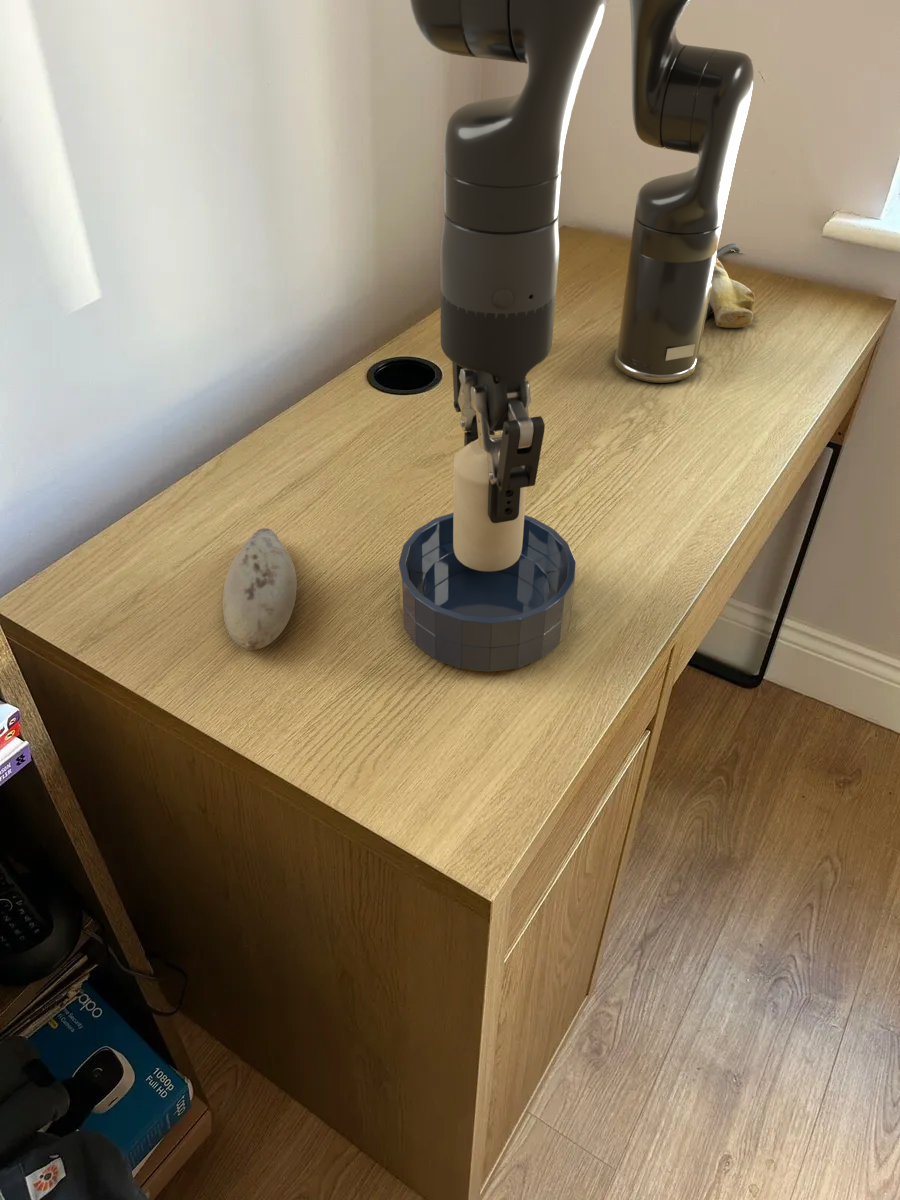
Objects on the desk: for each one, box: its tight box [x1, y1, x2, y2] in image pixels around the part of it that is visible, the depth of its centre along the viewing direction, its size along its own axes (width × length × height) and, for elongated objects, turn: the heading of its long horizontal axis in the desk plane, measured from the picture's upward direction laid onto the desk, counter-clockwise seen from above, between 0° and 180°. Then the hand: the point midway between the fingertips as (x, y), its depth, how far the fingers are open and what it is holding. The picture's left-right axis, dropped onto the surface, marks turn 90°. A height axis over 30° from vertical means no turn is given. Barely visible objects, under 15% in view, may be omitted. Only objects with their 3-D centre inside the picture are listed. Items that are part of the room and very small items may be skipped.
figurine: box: [709, 257, 756, 329], centre depth 125 cm, size 5×5×15 cm
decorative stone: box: [222, 527, 298, 651], centre depth 82 cm, size 6×16×3 cm, turn 7°
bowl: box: [398, 511, 577, 673], centre depth 80 cm, size 14×14×6 cm
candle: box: [452, 434, 527, 571], centre depth 74 cm, size 6×6×10 cm
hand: (490, 494), depth 74 cm, fingers closed on candle, 5 cm apart
